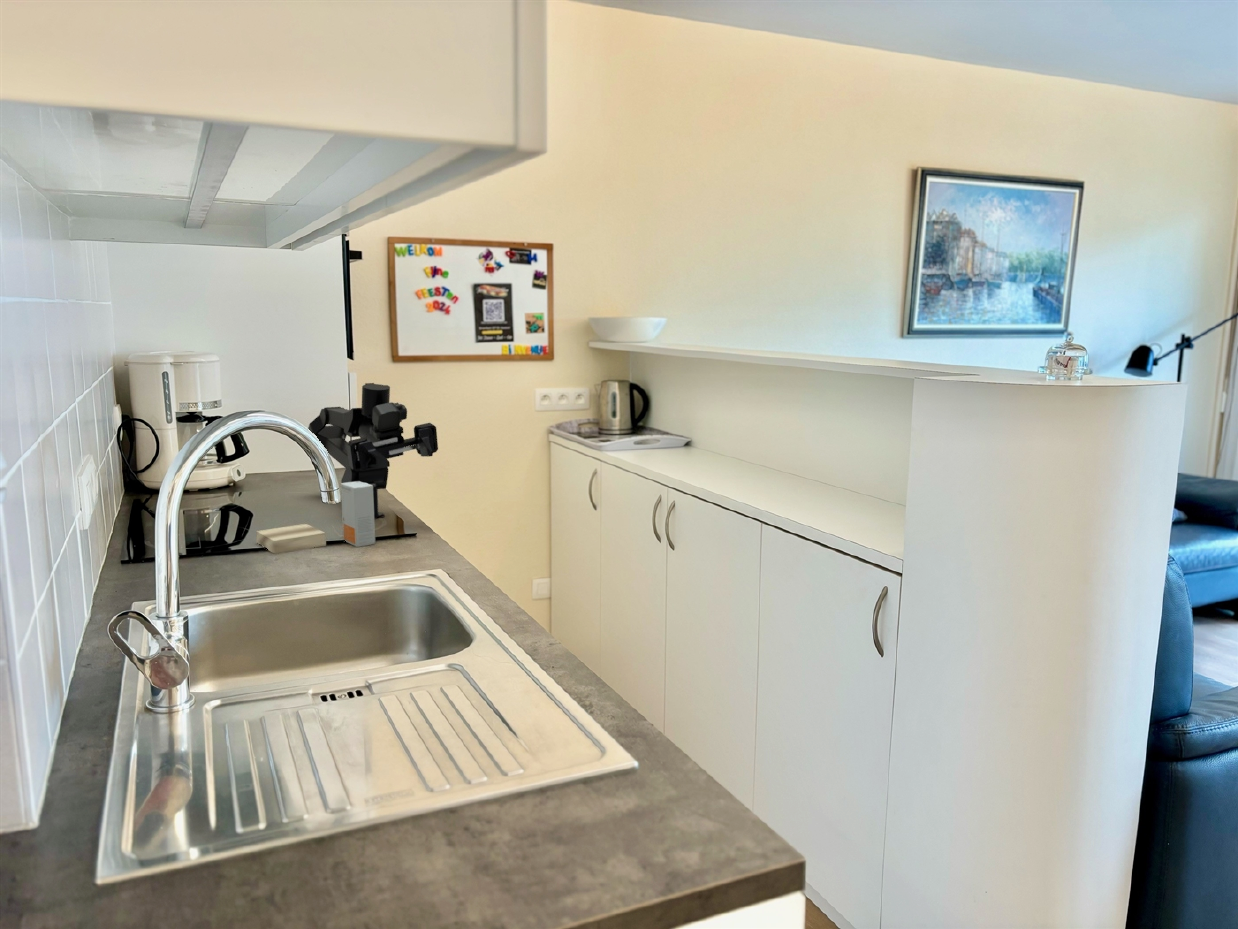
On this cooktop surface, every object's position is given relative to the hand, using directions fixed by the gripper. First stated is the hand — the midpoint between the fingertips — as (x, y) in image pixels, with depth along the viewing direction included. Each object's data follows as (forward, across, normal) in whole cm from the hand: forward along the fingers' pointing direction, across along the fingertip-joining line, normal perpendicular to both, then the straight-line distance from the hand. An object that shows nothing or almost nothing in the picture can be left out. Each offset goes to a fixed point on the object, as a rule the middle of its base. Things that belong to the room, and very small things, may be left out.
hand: (410, 458), depth 180 cm
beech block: (-7, -24, +15) cm, 29 cm away
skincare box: (-1, -12, +16) cm, 20 cm away
